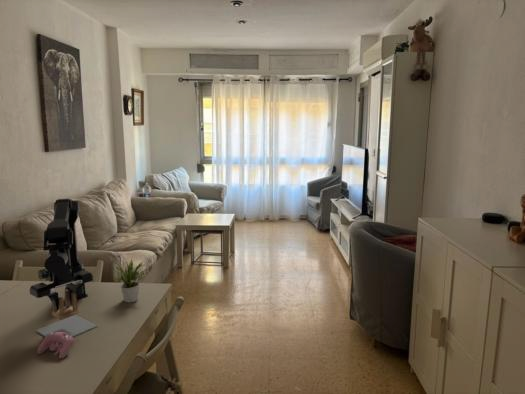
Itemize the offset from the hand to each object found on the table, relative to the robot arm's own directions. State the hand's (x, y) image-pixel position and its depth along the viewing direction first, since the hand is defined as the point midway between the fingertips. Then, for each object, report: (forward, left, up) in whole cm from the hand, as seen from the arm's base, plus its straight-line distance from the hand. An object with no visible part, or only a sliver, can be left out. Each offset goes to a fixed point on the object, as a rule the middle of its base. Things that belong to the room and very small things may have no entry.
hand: (64, 307), depth 134 cm
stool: (0, 0, -3) cm, 2 cm away
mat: (0, 0, -8) cm, 8 cm away
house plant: (-27, -1, -8) cm, 29 cm away
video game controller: (+9, +12, -8) cm, 17 cm away
